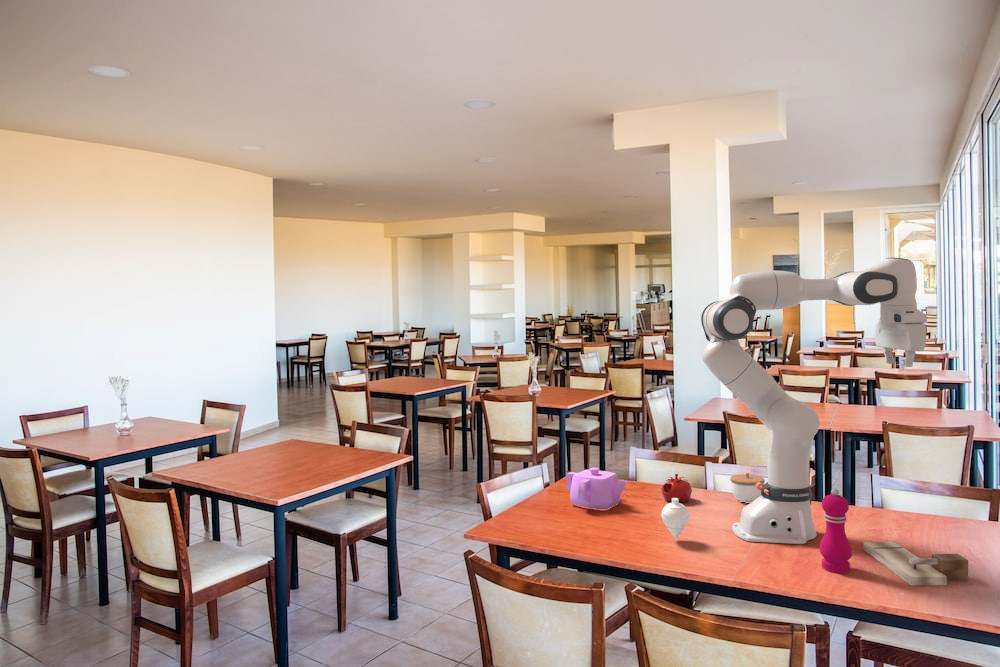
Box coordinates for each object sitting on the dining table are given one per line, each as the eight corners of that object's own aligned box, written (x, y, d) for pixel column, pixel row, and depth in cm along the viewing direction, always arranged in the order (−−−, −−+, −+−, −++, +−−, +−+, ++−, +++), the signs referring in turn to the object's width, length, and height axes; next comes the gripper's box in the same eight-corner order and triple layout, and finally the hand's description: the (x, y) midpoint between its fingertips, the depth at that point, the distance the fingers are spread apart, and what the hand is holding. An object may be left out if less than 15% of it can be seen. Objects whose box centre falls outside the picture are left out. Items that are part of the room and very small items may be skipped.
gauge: (915, 581, 159) (915, 560, 159) (906, 574, 163) (906, 554, 163) (968, 581, 159) (968, 559, 158) (957, 574, 162) (957, 553, 162)
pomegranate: (691, 497, 233) (691, 470, 233) (692, 505, 224) (692, 477, 223) (661, 495, 236) (661, 469, 235) (661, 503, 226) (661, 476, 225)
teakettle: (564, 499, 235) (563, 464, 234) (610, 495, 238) (609, 460, 237) (579, 514, 218) (578, 476, 217) (629, 509, 221) (628, 472, 221)
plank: (911, 585, 157) (910, 576, 157) (863, 549, 180) (863, 541, 180) (946, 585, 156) (946, 576, 156) (894, 549, 179) (894, 541, 179)
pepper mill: (813, 563, 171) (812, 485, 171) (841, 562, 172) (840, 484, 171) (830, 575, 164) (829, 493, 163) (858, 573, 165) (857, 491, 164)
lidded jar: (770, 505, 221) (769, 476, 220) (737, 506, 221) (736, 477, 220) (758, 496, 231) (757, 468, 231) (726, 496, 232) (726, 469, 231)
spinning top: (690, 537, 193) (690, 495, 193) (689, 546, 186) (688, 503, 186) (663, 534, 196) (662, 493, 195) (660, 544, 189) (659, 501, 188)
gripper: (868, 315, 200) (869, 362, 201) (906, 316, 180) (906, 368, 180) (890, 314, 200) (891, 361, 200) (930, 316, 179) (931, 368, 180)
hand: (898, 365), depth 190 cm, fingers open, 8 cm apart
